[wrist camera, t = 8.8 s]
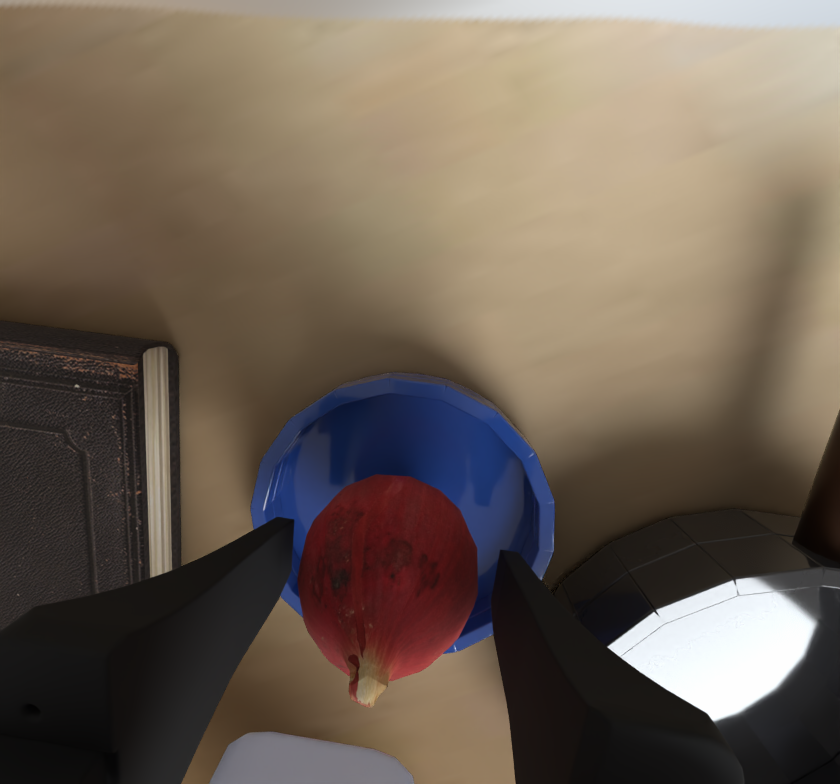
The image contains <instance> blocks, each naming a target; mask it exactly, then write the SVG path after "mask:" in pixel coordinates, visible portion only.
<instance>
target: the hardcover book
mask: <svg viewBox="0 0 840 784" xmlns="http://www.w3.org/2000/svg"><path fill="white" fill-rule="evenodd" d="M179 567H181V518H180V441H179V364H178V355H177V352H176V350H175V349H174V347H173V346H172V345H171V344H169V343H168V342H162V341H154V340H146V339H139V338H131V337H123V336H115V335H108V334H100V333H92V332H84V331H77V330H69V329H61V328H54V327H46V326H38V325H30V324H23V323H15V322H7V321H0V631H1V630H2V629H4V628H5V627H7V626H8V625H9V624H11V623H12V622H14V621H15V620H16V619H18V618H19V617H21V616H22V615H23V614H25V613H26V612H28V611H29V610H30V609H32V608H33V607H35V606H38V605H44V604H50V603H55V602H60V601H65V600H70V599H75V598H80V597H85V596H89V595H93V594H97V593H101V592H105V591H109V590H113V589H116V588H120V587H123V586H127V585H130V584H134V583H137V582H140V581H143V580H145V579H148V578H151V577H154V576H157V575H160V574H163V573H166V572H169V571H171V570H174V569H176V568H179Z"/></svg>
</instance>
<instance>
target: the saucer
mask: <svg viewBox="0 0 840 784" xmlns="http://www.w3.org/2000/svg"><path fill="white" fill-rule="evenodd" d="M376 474H380V475H395V476H410V477H413V478H415V479H417V480H419V481H421V482H424V483H426V484H428V485H430V486H432V487H435V488H437V489H439V490H441V491H442V492H443V493H444V494H445V495H446V496H447V497H448V498H449V499H450V500H451V501H452V502H453V503H454V504H455V505H456V506H457V507H458V508H459V509H460V510H461V513H462V515H463V517H464V520H465V522H466V524H467V527H468V529H469V532H470V534H471V536H472V538H473V540H474V542H475V544H476V546H477V562H478V595H477V598H476V601H475V604H474V607H473V609H472V611H471V613H470V615H469V618H468V620H467V622H466V624H465V626H464V628H463V630H462V632H461V634H460V636H459V637H458V639H457V640H456V641H455V642H454V643H453V644H452V646H451V647H450V648H448V649H447V650H446V651H445V652H444V653H443V654H446V653H453V652H457V651H461V650H463V649H465V648H467V647H469V646H471V645H473V644H475V643H477V642H479V641H481V640H483V639H485V638H487V637H489V636H491V635H494V634H493V625H492V612H491V597H492V592H493V586H494V581H495V575H496V570H497V564H498V559H499V553H500V549H501V550H507V551H514V552H518V553H519V554H520V555H521V556H522V557H523V559H524V560H525V561H526V562H527V564H528V565H529V566H530V568H531V569H532V570H533V571H534V573H535V574H536V575H537V576H538V578H539V579H540V580H541V581H542V579H543V577H544V574H545V572H546V570H547V567H548V565H549V563H550V560H551V558H552V556H553V553H554V552H553V551H554V526H555V502H554V498H553V495H552V493H551V490H550V488H549V485H548V482H547V480H546V477H545V475H544V472H543V470H542V467H541V464H540V462H539V459H538V457H537V454H536V453H535V451H534V449H533V448H532V446H531V445H530V443H529V442H528V440H527V439H526V437H525V436H524V435H523V434H522V433H521V432H520V431H519V430H518V429H517V428H516V427H515V425H514V424H513V423H512V422H511V421H510V420H509V419H508V417H507V416H506V415H505V414H504V413H503V412H502V411H501V410H500V409H499V408H498V407H497V406H496V405H495V404H494V403H492V402H491V401H489V400H487V399H485V398H483V397H482V396H480V395H479V394H477V393H476V392H474V391H472V390H470V389H468V388H466V387H464V386H462V385H460V384H458V383H455V382H452V381H450V380H448V379H445V378H440V377H435V376H430V375H424V374H417V373H400V372H394V373H393V372H390V373H386V374H379V375H374V376H369V377H364V378H361V379H358V380H355V381H350V382H346V383H344V384H341V385H340V386H338V387H337V388H335V389H334V390H332V391H331V392H329V393H328V394H326V395H324V396H323V397H321V398H320V399H318V400H317V401H315V402H314V403H312V404H311V405H309V406H308V407H306V408H305V409H303V410H302V411H300V412H299V413H297V414H296V415H294V416H293V417H292V418H291V419H290V420H288V422H287V423H286V425H285V426H284V427H283V429H282V430H281V432H280V433H279V435H278V436H277V438H276V439H275V440H274V442H273V443H272V445H271V446H270V448H269V449H268V450H267V452H266V453H265V455H264V456H263V458H262V460H261V462H260V466H259V471H258V475H257V480H256V484H255V489H254V493H253V497H252V502H251V516H252V522H253V529H256V528H258V527H260V526H261V525H263V524H265V523H267V522H268V521H270V520H272V519H274V518H276V517H282V518H289V519H294V536H293V554H292V571H291V573H290V575H289V578H288V580H287V582H286V584H285V587H284V589H283V591H282V593H281V595H280V596H281V598H282V599H283V600H284V601H285V602H287V603H288V604H289V605H290V606H291V607H292V608H293V609H294V610H295V611H296V612H297V613H298V614H299V615H301V616H302V617H303V614H302V608H301V603H300V597H299V590H298V581H297V579H298V572H299V566H300V561H301V557H302V553H303V548H304V544H305V540H306V535H307V533H308V531H309V529H310V527H311V525H312V523H313V521H314V519H315V518H316V517H317V516H318V515H319V514H320V512H321V511H322V510H323V509H324V508H325V507H326V506H327V505H328V504H329V503H330V501H331V500H332V499H333V498H334V497H335V496H336V495H337V494H338V493H339V492H340V491H341V490H342V489H343V488H344V487H345V486H348V485H350V484H353V483H355V482H358V481H360V480H363V479H366V478H368V477H371V476H373V475H376Z"/></svg>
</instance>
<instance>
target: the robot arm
mask: <svg viewBox="0 0 840 784" xmlns="http://www.w3.org/2000/svg"><path fill="white" fill-rule="evenodd" d="M293 536H294V519H289V518H282V517H276V518H274V519H272V520H270V521H268V522H267V523H265V524H263V525H261V526H260V527H258V528H256V529H254V530H253V531H251V532H249V533H247V534H246V535H244V536H242V537H240V538H238V539H237V540H235V541H233V542H231V543H229V544H227V545H225V546H223V547H222V548H220V549H218V550H216V551H214V552H212V553H210V554H208V555H206V556H204V557H202V558H199V559H197V560H195V561H193V562H191V563H188V564H186V565H183V566H181V567H179V568H176V569H174V570H171V571H169V572H166V573H163V574H160V575H157V576H154V577H151V578H148V579H145V580H143V581H140V582H137V583H134V584H130V585H127V586H123V587H120V588H116V589H113V590H109V591H105V592H101V593H97V594H93V595H89V596H85V597H80V598H75V599H70V600H65V601H60V602H55V603H50V604H44V605H38V606H35V607H33V608H32V609H30V610H29V611H28V612H26V613H25V614H23V615H22V616H21V617H19V618H18V619H16V620H15V621H14V622H12V623H11V624H9V625H8V626H7V627H5V628H4V629H2V630H1V631H0V784H181V782H182V780H183V778H184V776H185V774H186V771H187V769H188V767H189V765H190V763H191V760H192V758H193V756H194V754H195V752H196V749H197V747H198V745H199V743H200V741H201V739H202V737H203V735H204V732H205V730H206V728H207V726H208V724H209V722H210V720H211V718H212V716H213V714H214V712H215V709H216V707H217V705H218V703H219V701H220V699H221V697H222V695H223V693H224V691H225V689H226V687H227V685H228V683H229V681H230V679H231V677H232V675H233V673H234V672H235V670H236V668H237V666H238V665H239V663H240V661H241V659H242V658H243V656H244V655H245V653H246V651H247V650H248V648H249V646H250V645H251V643H252V642H253V640H254V638H255V637H256V635H257V634H258V632H259V630H260V629H261V627H262V625H263V624H264V622H265V621H266V619H267V617H268V616H269V614H270V612H271V611H272V609H273V607H274V606H275V604H276V602H277V601H278V599H279V597H280V595H281V593H282V591H283V589H284V587H285V584H286V582H287V580H288V578H289V575H290V573H291V571H292V554H293ZM491 612H492V625H493V634H494V640H495V645H496V650H497V655H498V661H499V666H500V671H501V676H502V681H503V686H504V691H505V696H506V702H507V708H508V714H509V721H510V730H511V740H512V750H513V759H514V770H515V781H516V784H744V782H745V781H744V774H743V768H742V766H741V764H740V763H739V761H738V759H737V757H736V755H735V754H734V752H733V751H732V749H731V748H730V746H729V745H728V743H727V741H726V740H725V738H724V737H723V735H722V734H721V732H720V731H719V729H718V728H717V726H716V725H715V723H714V722H713V720H712V719H711V718H710V716H709V715H708V713H706V712H704V711H702V710H701V709H699V708H697V707H696V706H694V705H692V704H690V703H689V702H687V701H685V700H684V699H682V698H680V697H679V696H677V695H675V694H673V693H672V692H670V691H668V690H667V689H665V688H664V687H662V686H661V685H659V684H658V683H656V682H655V681H653V680H652V679H650V678H649V677H647V676H646V675H644V674H643V673H641V672H640V671H638V670H637V669H635V668H634V667H633V666H631V665H630V664H629V663H627V662H626V661H625V660H623V659H622V658H621V657H619V656H618V655H617V654H616V653H614V652H613V651H612V650H610V649H609V648H608V647H607V646H605V645H604V644H603V643H602V642H601V641H599V640H598V639H597V638H596V637H595V636H594V635H593V634H592V633H591V632H589V631H588V630H587V629H586V628H585V627H584V626H583V625H582V624H581V623H580V622H579V621H578V620H576V619H575V618H574V617H573V616H572V615H571V613H570V612H569V611H568V610H567V609H566V608H565V607H564V606H563V605H562V604H561V603H560V602H559V601H558V600H557V599H556V597H555V596H554V595H553V594H552V593H551V592H550V591H549V590H548V588H547V587H546V586H545V585H544V584H543V582H542V581H541V580H540V579H539V578H538V576H537V575H536V574H535V573H534V571H533V570H532V569H531V568H530V566H529V565H528V564H527V562H526V561H525V560H524V559H523V557H522V556H521V555H520V554H519V553H518V552H514V551H507V550H501V549H500V553H499V559H498V564H497V570H496V575H495V581H494V586H493V592H492V597H491ZM209 784H414V780H413V776H412V775H411V774H410V773H409V771H408V770H407V769H406V768H405V767H404V766H403V765H402V764H401V763H400V762H399V761H398V760H397V759H396V758H395V757H394V756H391V755H388V754H386V753H383V752H381V751H378V750H376V749H372V748H366V747H360V746H354V745H348V744H342V743H336V742H330V741H325V740H319V739H313V738H307V737H301V736H295V735H289V734H283V733H278V732H272V731H271V732H250V733H247V734H245V735H243V736H242V737H240V738H238V739H237V740H235V741H234V742H232V743H230V744H229V745H228V747H227V749H226V751H225V753H224V755H223V757H222V759H221V761H220V763H219V765H218V767H217V769H216V771H215V773H214V775H213V777H212V779H211V781H210V783H209Z"/></svg>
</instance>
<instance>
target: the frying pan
mask: <svg viewBox="0 0 840 784" xmlns="http://www.w3.org/2000/svg"><path fill="white" fill-rule="evenodd" d="M799 521H800V517H793V516H786V515H779V514H772V513H764V512H757V511H750V510H743V509H735V508H734V509H727V510H720V511H712V512H705V513H698V514H690V515H683V516H676V517H670V518H666V519H664V520H662V521H659V522H657V523H655V524H652V525H650V526H648V527H645V528H643V529H641V530H638V531H636V532H634V533H631V534H629V535H627V536H624V537H622V538H620V539H617V540H615V541H613V542H610V543H609V545H606V546H605V547H603V548H602V549H601V550H600V551H599V552H597V553H596V554H595V555H594V556H592V557H591V558H590V559H589V560H588V561H586V562H585V563H584V564H583V565H581V566H580V567H579V568H578V569H577V570H575V571H574V572H573V573H572V574H570V575H569V576H568V577H567V578H566V579H564V580H563V583H561V584H560V585H559V587H558V588H557V590H556V592H555V593H554V596H555V597H556V599H557V600H558V601H559V602H560V603H561V604H562V605H563V606H564V607H565V608H566V609H567V610H568V611H569V612H570V613H571V615H572V616H573V617H574V618H575V619H576V620H578V621H579V622H580V623H581V624H582V625H583V626H584V627H585V628H586V629H587V630H588V631H589V632H591V633H592V634H593V635H594V636H595V637H596V638H597V639H598V640H599V641H601V642H602V643H603V644H604V645H605V646H607V647H608V648H609V649H610V650H612V651H613V652H614V653H616V654H617V655H618V656H619V657H621V658H622V659H623V660H625V661H626V662H627V663H629V664H630V665H631V666H633V667H634V668H635V669H637V670H638V671H640V672H641V673H643V674H644V675H646V676H647V677H649V678H650V679H652V680H653V681H655V682H656V683H658V684H659V685H661V686H662V687H664V688H665V689H667V690H668V691H670V692H672V693H673V694H675V695H677V696H679V697H680V698H682V699H684V700H685V701H687V702H689V703H690V704H692V705H694V706H696V707H697V708H699V709H701V710H702V711H704V712H706V713H708V715H709V716H710V718H711V719H712V720H713V722H714V723H715V725H716V726H717V728H718V729H719V731H720V732H721V734H722V735H723V737H724V738H725V740H726V741H727V743H728V745H729V746H730V748H731V749H732V751H733V752H734V754H735V755H736V757H737V759H738V761H739V763H740V764H741V766H742V768H743V774H744V781H745V782H744V784H840V563H839V562H836V561H833V560H830V559H827V558H825V557H823V556H820V555H818V554H816V553H814V552H812V551H810V550H808V549H806V548H805V547H803V546H802V545H800V544H799V543H798V542H797V541H796V540H795V539H794V535H795V532H796V529H797V526H798V524H799Z"/></svg>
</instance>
